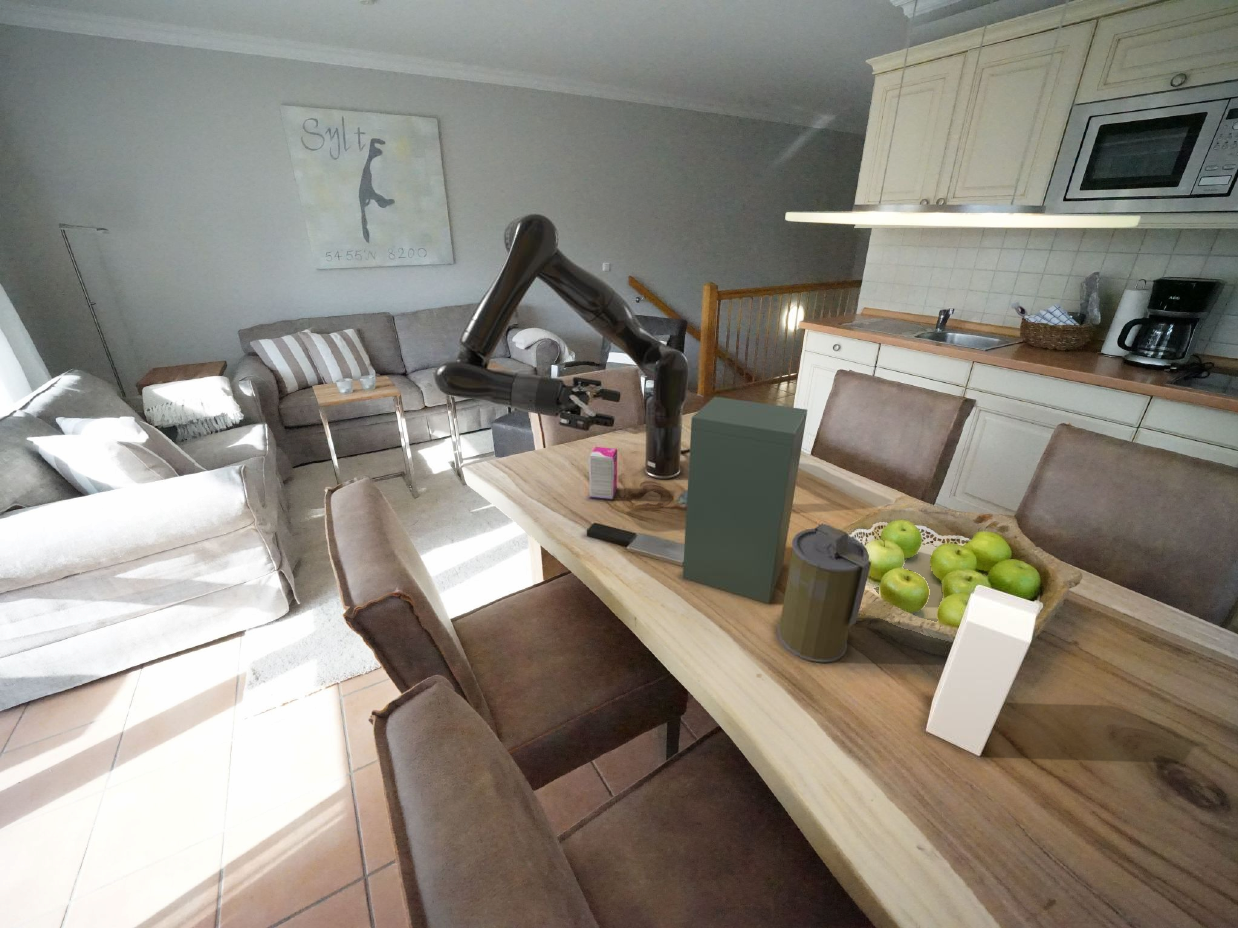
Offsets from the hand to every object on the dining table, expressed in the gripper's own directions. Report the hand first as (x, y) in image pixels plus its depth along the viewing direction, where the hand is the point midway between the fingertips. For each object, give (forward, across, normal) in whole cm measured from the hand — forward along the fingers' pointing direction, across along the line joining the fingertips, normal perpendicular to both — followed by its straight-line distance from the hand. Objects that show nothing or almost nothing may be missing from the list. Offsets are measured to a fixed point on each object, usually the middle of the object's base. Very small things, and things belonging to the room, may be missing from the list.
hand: (617, 409), depth 101 cm
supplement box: (0, +5, +30) cm, 30 cm away
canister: (+38, -36, +11) cm, 54 cm away
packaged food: (+24, +1, +24) cm, 35 cm away
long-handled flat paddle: (+9, -15, +22) cm, 28 cm away
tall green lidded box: (+28, -21, +17) cm, 39 cm away
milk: (+53, -50, +5) cm, 73 cm away
